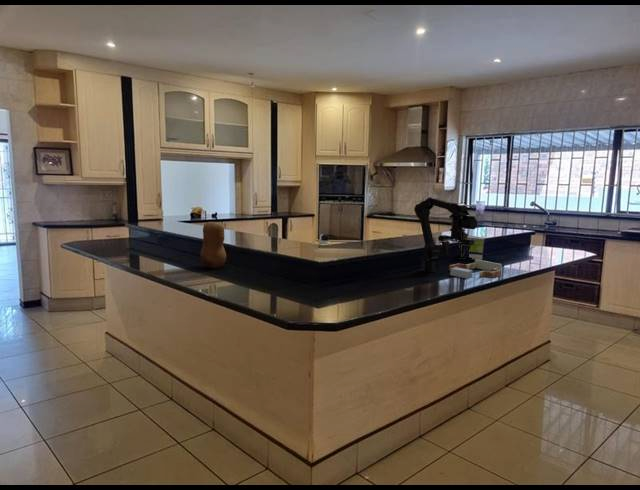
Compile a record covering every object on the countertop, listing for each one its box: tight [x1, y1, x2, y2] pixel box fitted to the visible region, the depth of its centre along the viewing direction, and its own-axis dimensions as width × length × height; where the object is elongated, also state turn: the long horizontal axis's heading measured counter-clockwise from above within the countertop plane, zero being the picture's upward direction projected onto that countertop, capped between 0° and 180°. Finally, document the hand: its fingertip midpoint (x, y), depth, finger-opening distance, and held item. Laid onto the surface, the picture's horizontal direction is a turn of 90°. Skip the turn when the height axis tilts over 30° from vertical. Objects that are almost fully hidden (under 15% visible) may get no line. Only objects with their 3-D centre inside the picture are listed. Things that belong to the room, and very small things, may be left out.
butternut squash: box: [200, 221, 227, 269], centre depth 244 cm, size 14×13×25 cm
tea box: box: [467, 235, 485, 261], centre depth 305 cm, size 15×10×15 cm, turn 73°
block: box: [449, 267, 474, 279], centre depth 250 cm, size 6×10×4 cm, turn 45°
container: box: [317, 233, 331, 245], centre depth 298 cm, size 8×8×13 cm
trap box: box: [448, 262, 502, 279], centre depth 262 cm, size 22×24×3 cm
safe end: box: [474, 259, 503, 272], centre depth 269 cm, size 1×16×5 cm, turn 41°
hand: (454, 255), depth 243 cm, fingers open, 9 cm apart
